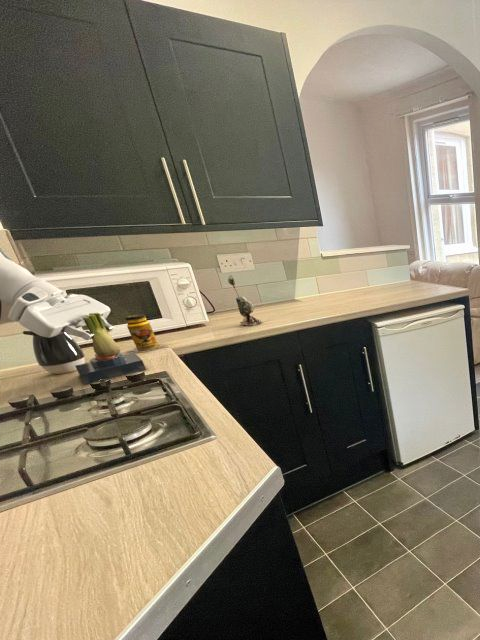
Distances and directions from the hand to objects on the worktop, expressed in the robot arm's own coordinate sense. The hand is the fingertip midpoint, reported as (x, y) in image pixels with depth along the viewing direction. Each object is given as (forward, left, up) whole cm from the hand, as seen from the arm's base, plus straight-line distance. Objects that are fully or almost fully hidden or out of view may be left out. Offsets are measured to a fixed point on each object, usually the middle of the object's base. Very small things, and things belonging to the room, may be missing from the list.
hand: (101, 334), depth 113 cm
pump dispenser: (-10, +28, -15) cm, 33 cm away
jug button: (-1, +13, -10) cm, 16 cm away
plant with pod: (+46, +37, -15) cm, 61 cm away
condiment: (+11, +35, -15) cm, 40 cm away
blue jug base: (-1, +13, -14) cm, 20 cm away
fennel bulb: (0, +1, -7) cm, 7 cm away
